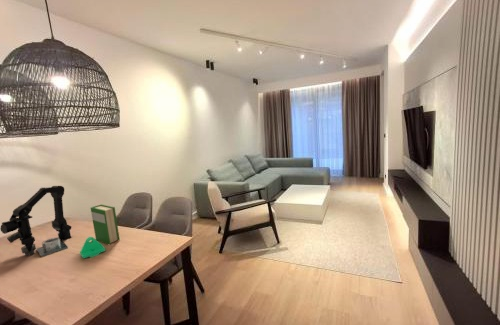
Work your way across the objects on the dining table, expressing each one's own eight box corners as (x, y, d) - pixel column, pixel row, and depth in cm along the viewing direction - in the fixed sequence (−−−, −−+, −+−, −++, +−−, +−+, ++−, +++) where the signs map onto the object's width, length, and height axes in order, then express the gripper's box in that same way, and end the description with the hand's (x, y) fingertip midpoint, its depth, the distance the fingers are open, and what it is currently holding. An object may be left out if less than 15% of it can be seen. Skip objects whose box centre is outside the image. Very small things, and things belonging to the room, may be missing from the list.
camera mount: (83, 260, 146) (80, 244, 145) (80, 256, 152) (78, 240, 150) (105, 252, 154) (103, 236, 153) (102, 248, 160) (100, 233, 158)
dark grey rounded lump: (35, 250, 164) (34, 242, 163) (37, 253, 159) (35, 245, 158) (22, 255, 159) (20, 247, 158) (23, 258, 154) (21, 249, 153)
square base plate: (62, 241, 175) (60, 233, 174) (67, 247, 164) (66, 239, 163) (36, 249, 165) (35, 241, 164) (40, 257, 154) (39, 248, 153)
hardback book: (119, 240, 170) (114, 207, 167) (108, 244, 164) (103, 210, 161) (106, 235, 180) (101, 204, 177) (96, 239, 174) (90, 207, 171)
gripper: (5, 228, 157) (10, 251, 159) (7, 235, 144) (13, 259, 146) (28, 222, 165) (33, 244, 167) (32, 228, 152) (37, 251, 155)
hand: (28, 249), depth 159 cm, fingers closed on dark grey rounded lump, 7 cm apart
